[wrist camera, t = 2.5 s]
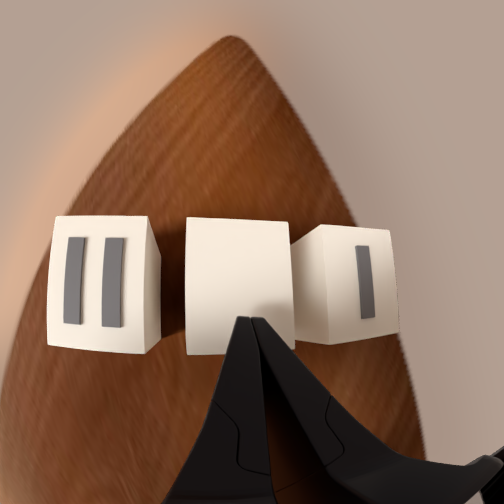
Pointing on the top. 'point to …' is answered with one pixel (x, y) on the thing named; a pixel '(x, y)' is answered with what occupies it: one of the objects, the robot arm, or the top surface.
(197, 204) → the top surface
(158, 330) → the marked block two
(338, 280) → the marked block one
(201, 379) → the top surface
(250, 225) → the plain block
